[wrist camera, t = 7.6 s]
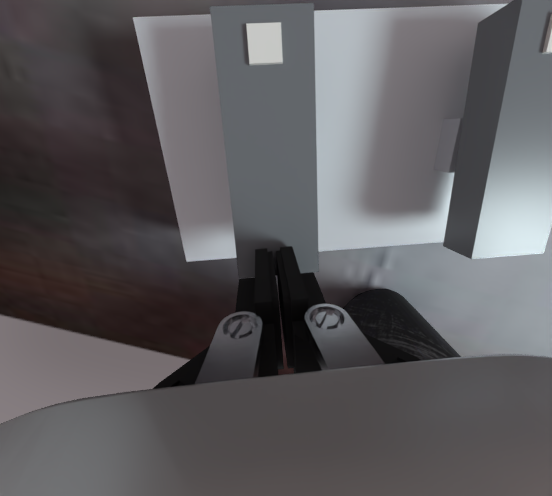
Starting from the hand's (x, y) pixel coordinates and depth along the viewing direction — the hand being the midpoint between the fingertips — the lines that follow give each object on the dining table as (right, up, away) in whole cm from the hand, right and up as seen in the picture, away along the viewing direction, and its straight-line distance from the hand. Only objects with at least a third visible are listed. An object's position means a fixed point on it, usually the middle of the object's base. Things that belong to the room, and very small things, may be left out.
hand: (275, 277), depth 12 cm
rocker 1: (0, +5, 0) cm, 5 cm away
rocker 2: (+11, +6, +1) cm, 12 cm away
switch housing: (+5, +9, +7) cm, 12 cm away
